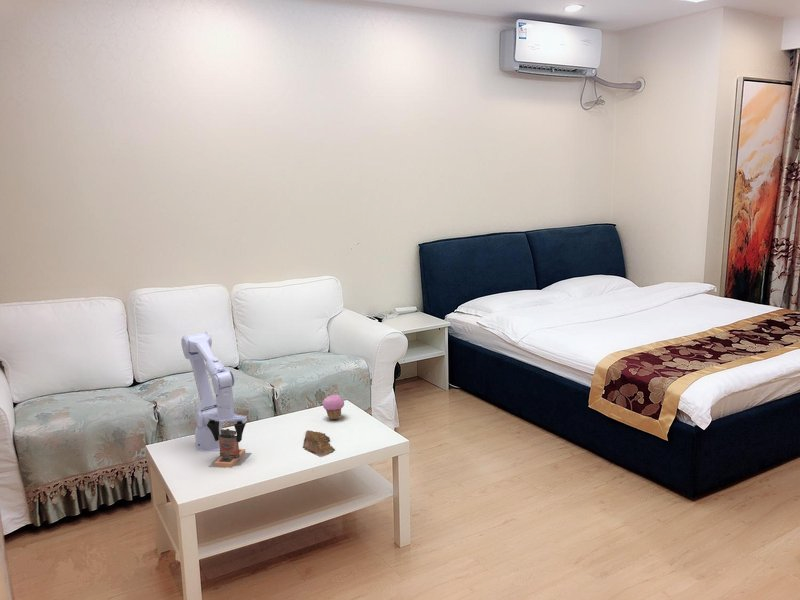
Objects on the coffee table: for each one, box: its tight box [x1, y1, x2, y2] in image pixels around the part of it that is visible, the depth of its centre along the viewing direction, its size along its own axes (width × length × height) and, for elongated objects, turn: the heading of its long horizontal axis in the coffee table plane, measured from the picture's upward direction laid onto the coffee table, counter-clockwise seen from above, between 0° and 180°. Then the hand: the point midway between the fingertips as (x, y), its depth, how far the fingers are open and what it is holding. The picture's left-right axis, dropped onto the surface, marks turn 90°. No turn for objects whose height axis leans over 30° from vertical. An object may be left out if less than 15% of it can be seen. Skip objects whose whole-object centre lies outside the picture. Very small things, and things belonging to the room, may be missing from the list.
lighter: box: [218, 428, 240, 459], centre depth 219 cm, size 8×3×10 cm, turn 69°
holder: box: [208, 448, 252, 469], centre depth 220 cm, size 11×12×2 cm
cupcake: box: [322, 394, 345, 420], centre depth 255 cm, size 9×9×10 cm
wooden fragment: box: [302, 429, 336, 458], centre depth 232 cm, size 26×11×1 cm, turn 18°
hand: (228, 440), depth 219 cm, fingers closed on lighter, 7 cm apart
